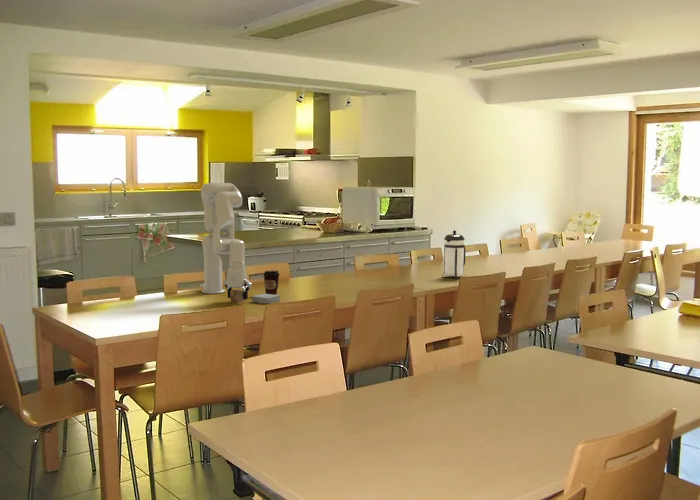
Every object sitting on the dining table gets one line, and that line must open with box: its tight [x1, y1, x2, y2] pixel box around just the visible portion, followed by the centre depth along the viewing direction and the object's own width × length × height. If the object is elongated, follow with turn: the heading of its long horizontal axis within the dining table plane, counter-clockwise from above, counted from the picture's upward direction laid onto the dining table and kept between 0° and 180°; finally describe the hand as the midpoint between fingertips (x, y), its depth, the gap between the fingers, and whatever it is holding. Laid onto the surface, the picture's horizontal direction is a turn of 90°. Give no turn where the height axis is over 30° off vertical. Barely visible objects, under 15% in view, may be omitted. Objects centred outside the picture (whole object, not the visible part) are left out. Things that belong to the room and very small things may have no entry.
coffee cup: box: [263, 269, 280, 295], centre depth 384 cm, size 9×8×13 cm
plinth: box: [251, 293, 281, 305], centre depth 364 cm, size 10×10×3 cm
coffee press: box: [441, 229, 466, 279], centre depth 455 cm, size 17×16×30 cm
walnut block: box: [229, 288, 246, 304], centre depth 363 cm, size 5×5×6 cm
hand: (237, 298), depth 363 cm, fingers open, 9 cm apart
